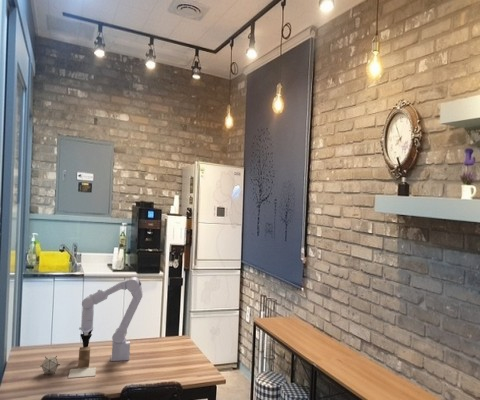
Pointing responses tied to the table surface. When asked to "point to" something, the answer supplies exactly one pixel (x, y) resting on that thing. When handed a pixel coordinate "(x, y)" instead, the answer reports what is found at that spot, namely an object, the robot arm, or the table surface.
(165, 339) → the table surface
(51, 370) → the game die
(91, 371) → the mat
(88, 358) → the walnut block
